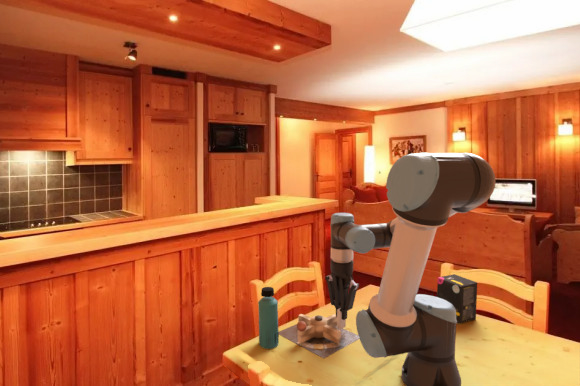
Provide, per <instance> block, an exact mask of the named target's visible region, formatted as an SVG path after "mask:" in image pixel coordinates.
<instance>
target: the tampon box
mask: <svg viewBox="0 0 580 386" xmlns="http://www.w3.org/2000/svg"><path fill="white" fill-rule="evenodd" d="M436 287H437V288H436V297H438V298H441V299H444V300H446V301H448V302H450V303H451V304H452V305H453V306H454V307H455V309H456V320H457V323H456V325H460V324H463V323H467V322H470V321H475V320H476V319H477V303H478V301H477V299H478V282H477V281H475V280H472V279H468V278H465V277H464V276H461V275H459V274H458V275H457V274H449V275H448V274H447V275H444V276H443V275H442V276H438V277H437V285H436Z"/></svg>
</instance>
